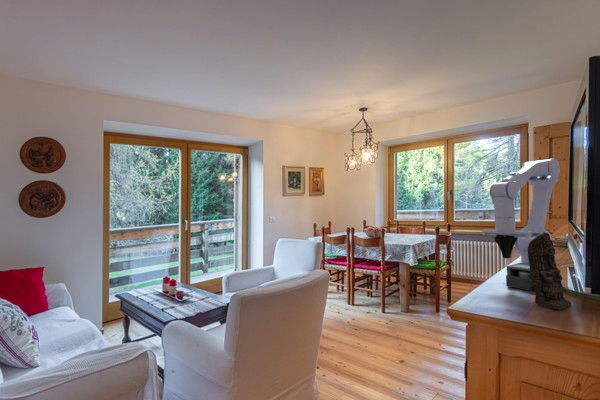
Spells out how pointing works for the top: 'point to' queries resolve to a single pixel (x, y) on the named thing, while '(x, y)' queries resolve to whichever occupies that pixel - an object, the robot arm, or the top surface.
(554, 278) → the statue
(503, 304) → the top surface
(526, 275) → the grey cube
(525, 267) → the player housing
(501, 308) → the top surface
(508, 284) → the tray
